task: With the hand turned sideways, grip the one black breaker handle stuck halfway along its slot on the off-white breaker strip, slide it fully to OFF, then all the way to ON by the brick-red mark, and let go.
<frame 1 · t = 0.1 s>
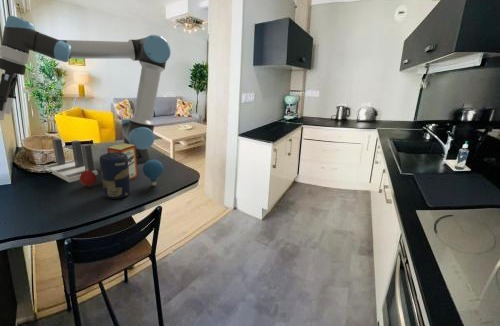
hand: (2, 116, 95), 28 cm above the table, tool tilted 20°, fingers open, 13 cm apart
baking soda box: (125, 179, 115), on the table
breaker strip: (71, 172, 118), on the table
pomegranate: (89, 186, 106), on the table
dark blue cylinder: (118, 195, 100), on the table
tripped breaker: (58, 151, 119), point 8 cm above the table, slide at 0.0 cm
light bulb: (154, 185, 111), on the table
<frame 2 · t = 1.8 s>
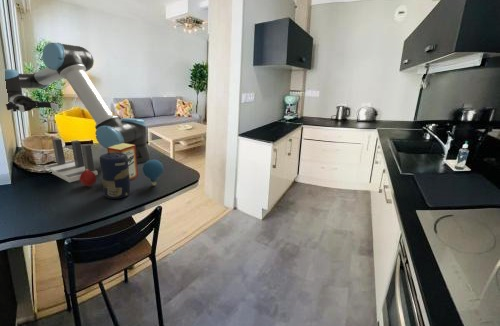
hand: (41, 108, 118), 28 cm above the table, tool horizontal, fingers open, 13 cm apart
nothing on the table moved.
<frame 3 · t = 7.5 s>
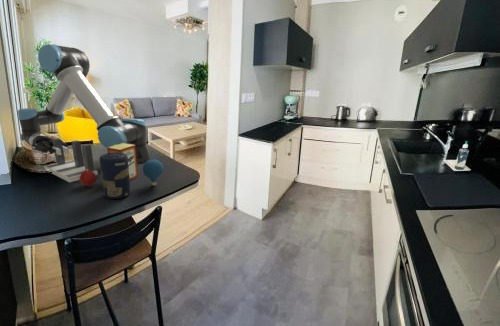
hand: (64, 151, 117), 10 cm above the table, tool horizontal, fingers closed on tripped breaker, 2 cm apart
tripped breaker: (58, 151, 119), point 8 cm above the table, slide at 0.0 cm, touching gripper
everything else where it was.
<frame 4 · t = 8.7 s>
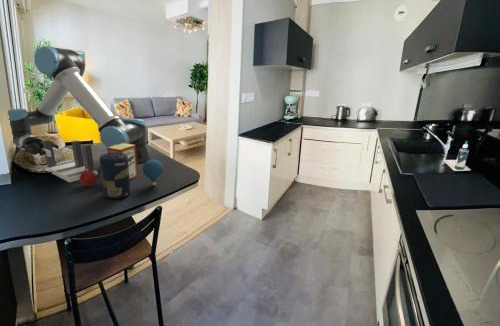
hand: (54, 153, 113), 10 cm above the table, tool horizontal, fingers closed on tripped breaker, 2 cm apart
tripped breaker: (49, 153, 116), point 8 cm above the table, slide at -4.0 cm, touching gripper
everything else where it was.
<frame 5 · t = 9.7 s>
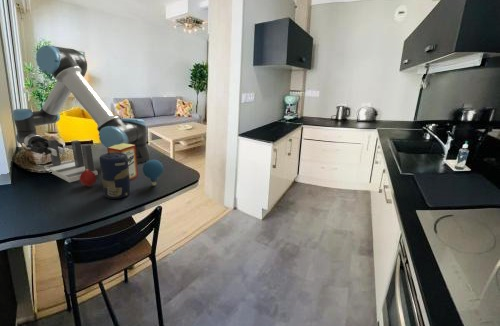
hand: (59, 152, 115), 10 cm above the table, tool horizontal, fingers closed on tripped breaker, 2 cm apart
tripped breaker: (54, 152, 118), point 8 cm above the table, slide at -1.8 cm, touching gripper
everything else where it was.
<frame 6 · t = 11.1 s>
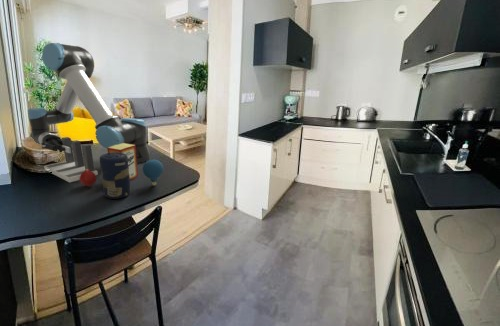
hand: (73, 149, 120), 9 cm above the table, tool horizontal, fingers closed on tripped breaker, 2 cm apart
tripped breaker: (68, 149, 123), point 8 cm above the table, slide at 4.0 cm, touching gripper
everything else where it was.
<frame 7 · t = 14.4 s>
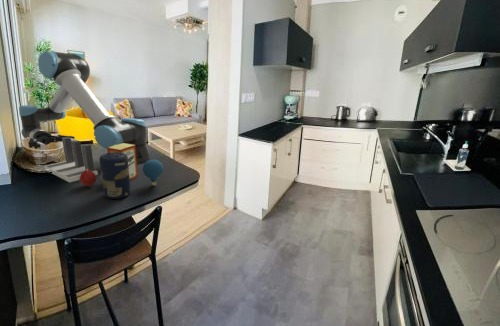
hand: (60, 144, 125), 10 cm above the table, tool horizontal, fingers open, 13 cm apart
tripped breaker: (68, 149, 123), point 8 cm above the table, slide at 4.0 cm
everything else where it was.
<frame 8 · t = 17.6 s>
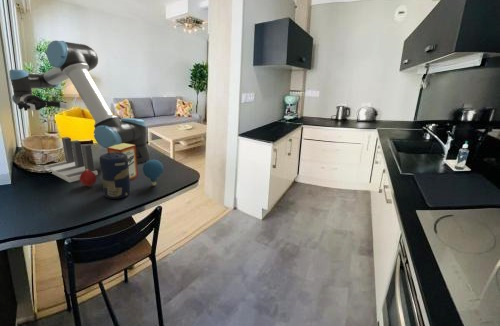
hand: (51, 107, 121), 28 cm above the table, tool horizontal, fingers open, 13 cm apart
nothing on the table moved.
at the end: tripped breaker slide at 4.0 cm; the gripper is holding nothing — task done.
